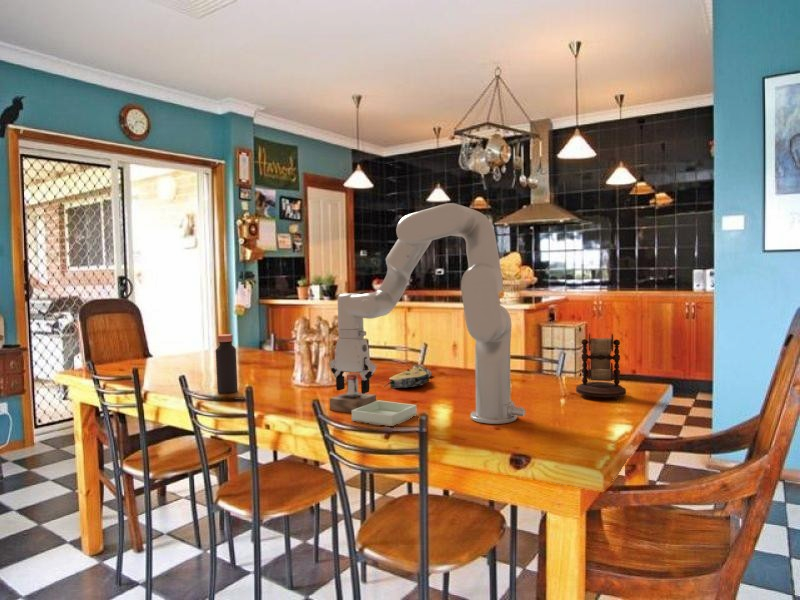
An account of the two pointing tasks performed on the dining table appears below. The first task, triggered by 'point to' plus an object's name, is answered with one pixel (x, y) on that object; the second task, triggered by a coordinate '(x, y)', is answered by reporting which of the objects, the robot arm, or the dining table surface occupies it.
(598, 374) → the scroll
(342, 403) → the block
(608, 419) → the dining table surface
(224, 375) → the bottle
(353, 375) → the pin
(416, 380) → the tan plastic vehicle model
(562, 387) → the dining table surface
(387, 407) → the tray
